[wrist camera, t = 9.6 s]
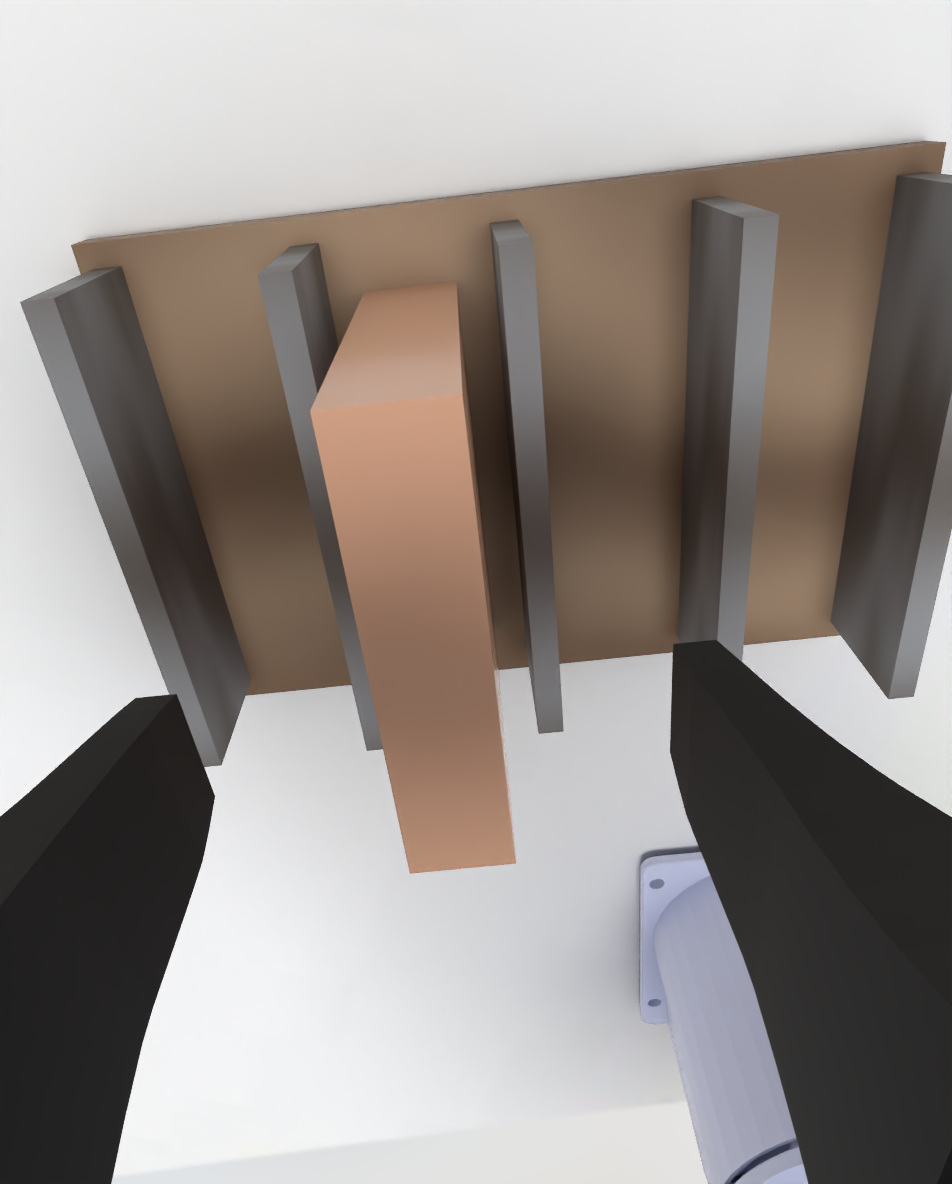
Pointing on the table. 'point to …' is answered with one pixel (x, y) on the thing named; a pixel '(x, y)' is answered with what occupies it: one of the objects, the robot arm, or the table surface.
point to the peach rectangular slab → (419, 570)
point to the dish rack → (540, 418)
